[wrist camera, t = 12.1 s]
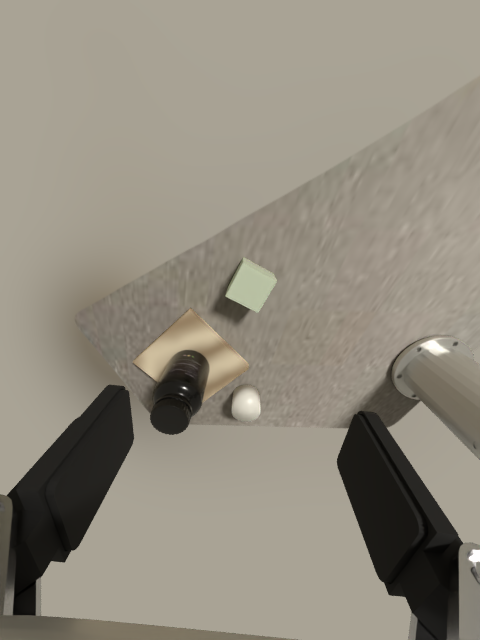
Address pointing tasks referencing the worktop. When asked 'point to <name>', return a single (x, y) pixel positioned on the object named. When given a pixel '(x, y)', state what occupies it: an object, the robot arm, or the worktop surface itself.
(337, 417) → the worktop surface
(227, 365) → the birch board
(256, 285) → the sage block
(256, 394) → the white rounded lump
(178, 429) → the supplement bottle
